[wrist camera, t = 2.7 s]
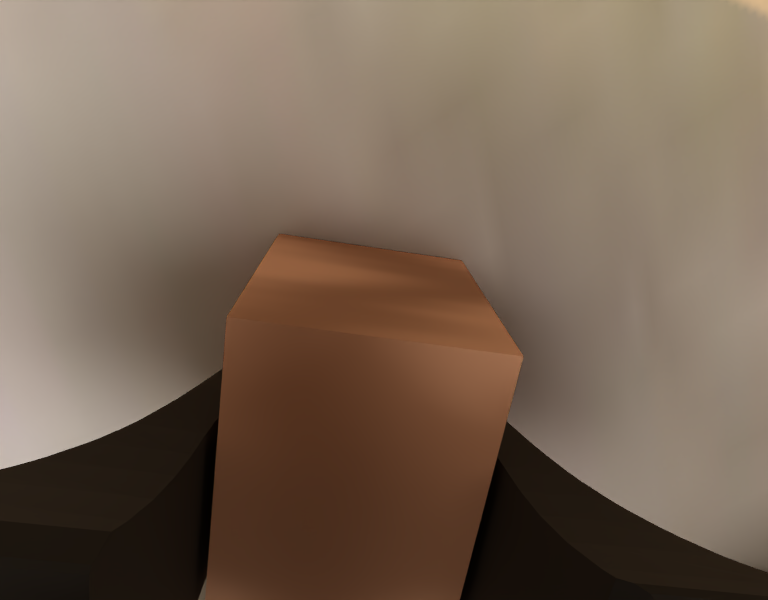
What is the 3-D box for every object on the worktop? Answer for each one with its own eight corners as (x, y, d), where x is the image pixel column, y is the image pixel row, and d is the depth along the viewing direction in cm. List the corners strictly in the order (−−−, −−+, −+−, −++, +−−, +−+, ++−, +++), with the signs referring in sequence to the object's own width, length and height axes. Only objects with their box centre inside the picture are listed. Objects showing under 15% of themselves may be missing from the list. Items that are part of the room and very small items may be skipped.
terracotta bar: (461, 260, 12) (523, 356, 8) (407, 519, 15) (429, 717, 10) (279, 233, 12) (226, 316, 7) (251, 503, 14) (197, 699, 10)
